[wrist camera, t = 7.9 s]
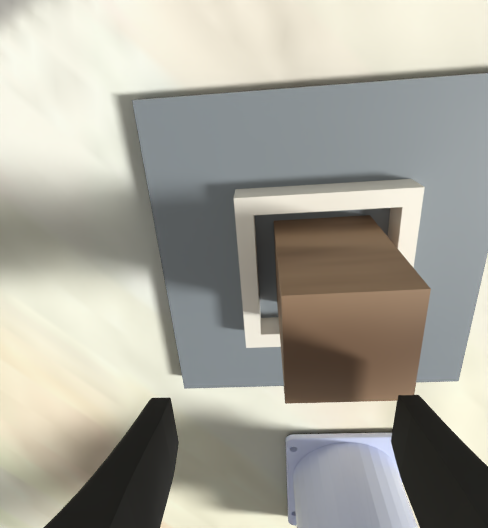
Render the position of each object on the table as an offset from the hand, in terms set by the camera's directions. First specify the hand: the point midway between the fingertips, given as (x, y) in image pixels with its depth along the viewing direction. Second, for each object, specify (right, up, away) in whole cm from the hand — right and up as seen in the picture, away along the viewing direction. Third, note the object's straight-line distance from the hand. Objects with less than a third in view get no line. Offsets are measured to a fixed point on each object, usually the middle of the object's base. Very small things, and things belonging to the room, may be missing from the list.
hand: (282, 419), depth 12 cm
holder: (+3, +6, +8) cm, 10 cm away
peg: (+3, +5, +7) cm, 9 cm away
